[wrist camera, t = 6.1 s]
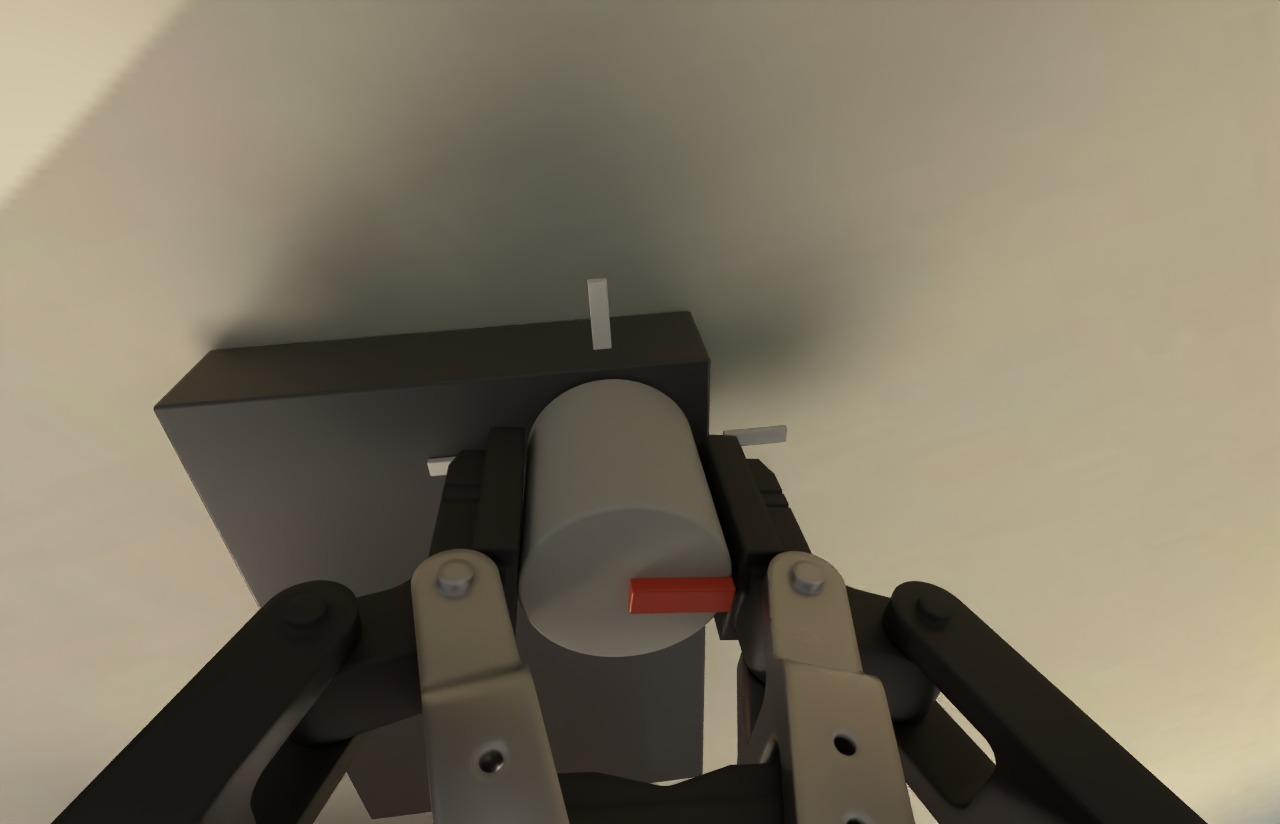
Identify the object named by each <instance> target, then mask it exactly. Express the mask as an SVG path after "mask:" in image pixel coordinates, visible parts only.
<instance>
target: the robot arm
mask: <svg viewBox="0 0 1280 824" xmlns="http://www.w3.org/2000/svg"><path fill="white" fill-rule="evenodd" d="M525 434H526V428H524V427H497V426H490V431H489V438H488V445H487V450H462V451H461V452H460V453H459V454H458V455H457V456H456V457H455V458H454V460H453V461H452V462H451V463H450V464H449V465H448V470H447V475H446V479H445V486H444V488H443V493H442V499H441V502H440V506H439V511H438V515H437V520H436V524H435V529H434V533H433V538H432V543H431V547H430V552H429V555H428V558H427V559H426V560H424V561H423V562H422V563H421V564H420V565H419V566H418V568H417V569H416V570H415V572H414V574H413V576H412V578H410V579H409V580H408V581H406V582H404V583H402V584H401V585H398V586H396V587H394V588H391V589H388V590H385V591H381V592H377V593H373V594H369V595H365V596H361V597H357V598H356V596H355V594H354V593H353V592H352V591H351V590H350V589H349V588H348V587H346V586H345V585H343V584H340V583H338V582H334V581H327V580H315V581H308V582H303V583H300V584H296V585H294V586H291V587H289V588H287V589H285V590H283V591H281V592H279V593H278V594H277V595H275V596H274V597H272V598H271V599H270V600H269V601H268V602H267V603H266V604H265V605H264V606H263V607H262V608H261V609H260V610H259V611H258V612H257V613H256V614H255V615H254V616H253V617H252V618H251V619H250V620H249V621H248V622H247V623H246V624H245V625H244V626H243V627H242V628H241V629H240V630H239V631H238V632H237V633H236V634H235V635H234V636H233V637H232V638H231V640H230V641H229V642H228V643H227V644H226V645H225V646H224V647H223V648H222V649H221V650H220V651H219V652H218V653H217V654H216V655H215V656H214V657H213V658H212V659H211V660H210V661H209V662H208V663H207V664H206V665H205V666H204V667H203V668H202V669H201V670H200V671H199V672H198V673H197V674H196V675H195V676H194V677H193V678H192V679H191V680H190V682H189V683H188V684H187V685H186V686H185V687H184V688H183V689H182V690H181V691H180V692H179V693H178V694H177V695H176V696H175V697H174V698H173V699H172V700H171V701H170V702H169V703H168V704H167V705H166V706H165V707H164V708H163V709H162V710H161V711H160V712H159V713H158V714H157V715H156V716H155V717H154V718H153V719H152V720H151V721H150V722H149V724H148V725H147V726H146V727H145V728H144V729H143V730H142V731H141V732H140V733H139V734H138V735H137V736H136V737H135V738H134V739H133V740H132V741H131V742H130V743H129V744H128V745H127V746H126V747H125V748H124V749H123V750H122V751H121V752H120V753H119V754H118V755H117V756H116V757H115V758H114V759H113V760H112V761H111V762H110V763H109V765H108V766H107V767H106V768H105V769H104V770H103V771H102V772H101V773H100V774H99V775H98V776H97V777H96V778H95V779H94V780H93V781H92V782H91V783H90V784H89V785H88V786H87V787H86V788H85V789H84V790H83V791H82V792H81V793H80V794H79V795H78V796H77V797H76V798H75V799H74V800H73V801H72V802H71V803H70V804H69V805H68V807H67V808H66V809H65V810H64V811H63V812H62V813H61V814H60V815H59V816H58V817H57V818H56V819H55V820H54V821H53V822H52V823H51V824H313V823H314V821H315V819H316V818H317V816H318V815H319V813H320V812H321V810H322V808H323V807H324V805H325V804H326V802H327V801H328V799H329V798H330V796H331V794H332V793H333V791H334V790H335V788H336V787H337V785H338V784H339V782H340V780H341V779H342V777H343V776H344V774H345V773H346V771H347V770H348V768H349V766H350V765H351V763H352V762H353V760H354V759H355V757H356V756H357V754H358V752H359V751H360V749H361V748H362V746H363V745H364V743H365V742H366V740H367V738H368V737H369V735H370V733H371V731H372V730H375V729H377V728H380V727H383V726H386V725H389V724H392V723H395V722H398V721H401V720H404V719H407V718H410V717H413V716H416V715H419V714H422V713H423V723H424V734H425V744H426V755H427V766H428V776H429V787H430V798H431V808H432V819H433V824H915V821H914V816H913V812H912V808H911V803H910V799H909V795H908V790H907V786H906V783H907V784H908V785H909V787H910V788H911V789H912V790H913V792H914V793H915V794H916V795H917V797H918V798H919V799H920V800H921V802H922V803H923V804H924V805H925V807H926V808H927V809H928V810H929V812H930V813H931V814H932V815H933V817H934V818H935V819H936V820H937V822H938V823H939V824H1207V823H1206V822H1205V821H1204V820H1203V819H1202V818H1201V817H1200V816H1199V815H1197V814H1196V813H1195V812H1194V811H1193V810H1192V809H1191V808H1190V807H1189V806H1187V805H1186V804H1185V803H1184V802H1183V801H1182V800H1181V799H1180V798H1179V797H1177V796H1176V795H1175V794H1174V793H1173V792H1172V791H1171V790H1170V789H1169V788H1167V787H1166V786H1165V785H1164V784H1163V783H1162V782H1161V781H1160V780H1159V779H1157V778H1156V777H1155V776H1154V775H1153V774H1152V773H1151V772H1150V771H1149V770H1147V769H1146V768H1145V767H1144V766H1143V765H1142V764H1141V763H1140V762H1139V761H1138V760H1136V759H1135V758H1134V757H1133V756H1132V755H1131V754H1130V753H1129V752H1128V751H1126V750H1125V749H1124V748H1123V747H1122V746H1121V745H1120V744H1119V743H1118V742H1116V741H1115V740H1114V739H1113V738H1112V737H1111V736H1110V735H1109V734H1108V733H1106V732H1105V731H1104V730H1103V729H1102V728H1101V727H1100V726H1099V725H1098V724H1096V723H1095V722H1094V721H1093V720H1092V719H1091V718H1090V717H1089V716H1088V715H1086V714H1085V713H1084V712H1083V711H1082V710H1081V709H1080V708H1079V707H1078V706H1076V705H1075V704H1074V703H1073V702H1072V701H1071V700H1070V699H1069V698H1068V697H1066V696H1065V695H1064V694H1063V693H1062V692H1061V691H1060V690H1059V689H1058V688H1057V687H1055V686H1054V685H1053V684H1052V683H1051V682H1050V681H1049V680H1048V679H1047V678H1045V677H1044V676H1043V675H1042V674H1041V673H1040V672H1039V671H1038V670H1037V669H1035V668H1034V667H1033V666H1032V665H1031V664H1030V663H1029V662H1028V661H1027V660H1025V659H1024V658H1023V657H1022V656H1021V655H1020V654H1019V653H1018V652H1017V651H1015V650H1014V649H1013V648H1012V647H1011V646H1010V645H1009V644H1008V643H1007V642H1005V641H1004V640H1003V639H1002V638H1001V637H1000V636H999V635H998V634H997V633H995V632H994V631H993V630H992V629H991V628H990V627H989V626H988V625H987V624H985V623H984V622H983V621H982V620H981V619H980V618H979V617H978V616H977V615H975V614H974V613H973V612H972V611H971V610H970V609H969V608H968V607H967V606H966V605H964V604H963V603H962V602H961V601H960V600H959V599H958V598H956V597H955V596H954V595H952V594H951V593H949V592H948V591H946V590H944V589H942V588H940V587H938V586H935V585H933V584H929V583H925V582H920V581H910V582H905V583H902V584H900V585H899V586H898V587H896V588H895V590H894V592H893V594H892V596H891V598H888V597H885V596H881V595H877V594H873V593H869V592H865V591H861V590H858V589H854V588H851V587H849V586H846V585H845V583H844V580H843V578H842V576H841V575H840V573H839V572H838V571H837V570H836V569H835V568H834V567H833V566H832V565H831V564H830V563H828V562H827V561H825V560H824V559H822V558H820V557H818V556H816V555H813V554H812V553H811V551H810V549H809V547H808V544H807V542H806V540H805V538H804V536H803V534H802V532H801V530H800V527H799V525H798V523H797V521H796V519H795V517H794V515H793V513H792V510H791V508H789V507H788V505H789V504H788V502H787V500H786V498H785V496H784V494H782V489H781V487H780V485H779V483H778V481H777V479H776V476H775V474H774V473H773V472H772V471H771V470H769V469H768V468H767V467H766V466H765V465H764V464H763V463H762V462H761V461H760V460H759V459H746V457H745V455H744V453H743V450H742V448H741V446H740V443H739V441H738V439H737V437H736V436H730V435H704V434H703V435H701V436H700V437H699V440H698V444H697V451H698V454H699V457H700V460H701V464H702V467H703V470H704V473H705V476H706V480H707V483H708V486H709V489H710V493H711V496H712V499H713V502H714V506H715V509H716V512H717V515H718V519H719V522H720V525H721V528H722V532H723V535H724V538H725V541H726V545H727V548H728V551H729V554H730V559H731V563H732V579H733V582H734V585H735V589H736V591H735V595H734V599H733V603H732V607H731V611H730V612H717V613H716V615H715V616H714V618H715V622H716V626H717V630H718V634H719V637H720V640H739V643H740V647H741V650H742V653H741V656H740V659H739V662H738V666H737V726H738V759H737V765H729V766H726V767H723V768H720V769H717V770H714V771H712V772H709V773H706V774H703V775H700V776H697V777H694V778H692V779H689V780H686V781H683V782H680V783H677V784H674V785H670V786H659V785H654V784H650V783H645V782H640V781H636V780H631V779H627V778H622V777H617V776H613V775H608V774H604V773H599V772H578V773H558V774H557V772H556V768H555V765H554V761H553V757H552V753H551V749H550V745H549V741H548V737H547V733H546V729H545V725H544V721H543V717H542V713H541V709H540V706H539V702H538V698H537V694H536V690H535V686H534V682H533V678H532V675H531V672H530V669H529V667H528V665H527V664H524V665H522V663H521V660H520V657H519V653H518V649H517V645H516V641H515V640H516V622H517V604H518V590H517V582H518V568H519V554H520V540H521V527H522V513H523V492H524V463H525ZM940 692H942V693H943V694H944V695H945V696H946V697H947V699H948V700H949V701H950V702H951V703H952V704H953V705H954V706H955V707H956V708H957V709H958V710H959V711H960V712H961V713H962V714H963V715H964V717H965V718H966V719H967V720H968V721H969V722H970V723H971V724H972V725H973V726H974V727H975V728H976V729H977V730H978V731H979V732H980V733H981V734H982V736H983V737H984V738H985V739H986V740H987V742H988V743H989V744H990V746H991V748H992V750H993V752H994V755H995V759H996V765H995V764H994V763H993V762H992V761H991V760H990V759H989V757H988V756H987V755H986V754H985V753H984V752H983V751H982V750H981V749H980V748H979V747H978V746H977V745H976V743H975V742H974V741H973V740H972V739H971V738H970V737H969V736H968V735H967V734H966V733H965V732H964V730H963V729H962V728H961V727H960V726H959V725H958V724H957V723H956V722H955V721H954V720H953V719H952V718H951V716H950V715H949V714H948V713H947V712H946V711H945V710H944V709H943V708H942V707H941V706H940V705H939V704H938V702H937V701H936V699H937V697H938V695H939V693H940Z"/></svg>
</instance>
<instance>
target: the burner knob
mask: <svg viewBox="0 0 1280 824" xmlns="http://www.w3.org/2000/svg"><path fill="white" fill-rule="evenodd" d="M517 590H518V598H519V601H520V605H521V607H522V609H523V611H524V613H525V615H526V617H527V619H528V620H529V621H530V623H531V624H532V625H533V626H534V627H535V628H536V629H537V630H538V631H539V632H540V633H541V634H542V635H544V636H545V637H546V638H548V639H549V640H551V641H552V642H554V643H556V644H558V645H560V646H562V647H565V648H567V649H569V650H573V651H576V652H579V653H583V654H589V655H594V656H604V657H624V656H634V655H641V654H646V653H650V652H654V651H658V650H661V649H664V648H667V647H669V646H672V645H674V644H676V643H678V642H681V641H682V640H684V639H686V638H688V637H690V636H691V635H693V634H694V633H696V632H697V631H698V630H700V629H701V628H702V627H703V626H705V625H706V624H707V623H708V622H709V621H710V620H711V619H712V618H713V617H714V616H715V615H716V613H717V612H730V611H731V607H732V603H733V599H734V595H735V591H736V589H735V585H734V582H733V579H732V563H731V559H730V554H729V551H728V548H727V545H726V541H725V538H724V535H723V532H722V528H721V525H720V522H719V519H718V515H717V512H716V509H715V506H714V502H713V499H712V496H711V493H710V489H709V486H708V483H707V480H706V476H705V473H704V470H703V467H702V464H701V460H700V457H699V454H698V451H697V447H696V444H695V441H694V438H693V434H692V431H691V428H690V425H689V423H688V420H687V418H686V416H685V415H684V413H683V412H682V410H681V409H680V408H679V407H678V405H677V404H676V403H675V402H674V401H673V400H671V399H670V398H669V397H668V396H666V395H665V394H663V393H662V392H660V391H659V390H657V389H655V388H653V387H651V386H648V385H645V384H642V383H639V382H635V381H630V380H621V379H605V380H598V381H592V382H588V383H585V384H582V385H579V386H576V387H574V388H572V389H570V390H568V391H566V392H564V393H562V394H561V395H560V396H558V397H557V398H555V399H554V400H553V401H552V402H551V403H550V404H549V405H547V406H546V407H545V408H544V410H543V411H542V412H541V413H540V414H539V416H538V417H537V419H536V421H535V422H534V424H533V427H532V429H531V431H530V435H529V439H528V445H527V458H526V472H525V485H524V499H523V513H522V527H521V540H520V554H519V568H518V582H517Z"/></svg>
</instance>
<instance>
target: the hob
mask: <svg viewBox="0 0 1280 824" xmlns="http://www.w3.org/2000/svg"><path fill="white" fill-rule="evenodd" d="M587 285H588V296H589V307H590V318H591V319H588V320H576V321H563V322H551V323H539V324H527V325H515V326H503V327H491V328H479V329H467V330H454V331H442V332H430V333H418V334H406V335H394V336H382V337H370V338H357V339H345V340H333V341H321V342H309V343H297V344H285V345H273V346H261V347H248V348H236V349H224V350H212V351H210V352H208V353H207V354H206V355H205V356H204V357H203V358H202V359H201V360H200V361H199V362H198V363H197V364H196V365H195V366H194V367H193V368H192V369H191V370H190V371H189V372H188V373H187V374H186V375H185V376H184V377H183V378H182V379H181V380H180V381H179V382H178V383H177V384H176V385H175V386H174V387H173V388H172V389H171V390H170V391H169V392H168V393H167V394H166V395H165V396H164V397H163V398H162V399H161V400H160V401H159V402H158V403H157V404H156V405H155V406H154V411H155V413H156V415H157V417H158V419H159V421H160V423H161V425H162V426H163V428H164V430H165V432H166V434H167V436H168V438H169V440H170V441H171V443H172V445H173V447H174V449H175V451H176V453H177V455H178V457H179V458H180V460H181V462H182V464H183V466H184V468H185V470H186V472H187V473H188V475H189V477H190V479H191V481H192V483H193V485H194V487H195V488H196V490H197V492H198V494H199V496H200V498H201V500H202V502H203V503H204V505H205V507H206V509H207V511H208V513H209V515H210V517H211V518H212V520H213V522H214V524H215V526H216V528H217V530H218V532H219V533H220V535H221V537H222V539H223V541H224V543H225V545H226V547H227V548H228V550H229V552H230V554H231V556H232V558H233V560H234V562H235V563H236V565H237V567H238V569H239V571H240V573H241V575H242V577H243V578H244V580H245V582H246V584H247V586H248V588H249V590H250V592H251V593H252V595H253V597H254V599H255V601H256V603H257V605H258V607H259V608H260V609H261V608H262V607H263V606H264V605H265V604H266V603H267V602H268V601H269V600H270V599H271V598H272V597H274V596H275V595H277V594H278V593H279V592H281V591H283V590H285V589H287V588H289V587H291V586H294V585H296V584H300V583H303V582H308V581H315V580H327V581H334V582H338V583H340V584H343V585H345V586H346V587H348V588H349V589H350V590H351V591H352V592H353V593H354V594H355V596H356V598H357V597H361V596H365V595H369V594H373V593H377V592H381V591H385V590H388V589H391V588H394V587H396V586H398V585H401V584H402V583H404V582H406V581H408V580H409V579H410V578H412V576H413V574H414V572H415V570H416V569H417V568H418V566H419V565H420V564H421V563H422V562H423V561H424V560H426V559H427V558H428V555H429V552H430V547H431V543H432V538H433V533H434V529H435V524H436V520H437V515H438V511H439V506H440V502H441V499H442V493H443V488H444V486H445V479H446V475H447V470H448V465H449V464H450V463H451V462H452V461H453V460H454V458H455V457H456V456H457V455H458V454H459V453H460V452H461V451H462V450H487V445H488V438H489V431H490V426H497V427H524V428H526V434H525V463H524V485H525V472H526V458H527V445H528V439H529V435H530V431H531V429H532V427H533V424H534V422H535V421H536V419H537V417H538V416H539V414H540V413H541V412H542V411H543V410H544V408H545V407H546V406H547V405H549V404H550V403H551V402H552V401H553V400H554V399H555V398H557V397H558V396H560V395H561V394H562V393H564V392H566V391H568V390H570V389H572V388H574V387H576V386H579V385H582V384H585V383H588V382H592V381H598V380H605V379H621V380H630V381H635V382H639V383H642V384H645V385H648V386H651V387H653V388H655V389H657V390H659V391H660V392H662V393H663V394H665V395H666V396H668V397H669V398H670V399H671V400H673V401H674V402H675V403H676V404H677V405H678V407H679V408H680V409H681V410H682V412H683V413H684V415H685V416H686V418H687V420H688V423H689V425H690V428H691V431H692V434H693V438H694V441H695V444H696V447H697V444H698V440H699V437H700V436H701V435H703V434H704V435H709V407H710V358H709V356H708V353H707V351H706V349H705V346H704V344H703V341H702V339H701V337H700V334H699V332H698V330H697V327H696V325H695V323H694V320H693V318H692V315H691V313H690V312H689V311H685V312H672V313H660V314H648V315H636V316H624V317H612V318H609V305H608V291H607V280H606V278H602V279H589V280H587ZM723 435H730V436H736V437H737V439H738V441H739V443H740V446H747V445H757V444H767V443H778V442H786V436H787V428H786V426H785V425H781V426H770V427H760V428H749V429H739V430H728V431H723ZM523 499H524V492H523ZM515 641H516V645H517V649H518V653H519V657H520V660H521V663H522V665H524V664H527V665H528V667H529V669H530V672H531V675H532V678H533V682H534V686H535V690H536V694H537V698H538V702H539V706H540V709H541V713H542V717H543V721H544V725H545V729H546V733H547V737H548V741H549V745H550V749H551V753H552V757H553V761H554V765H555V768H556V772H557V774H558V773H578V772H599V773H604V774H608V775H613V776H617V777H622V778H627V779H631V780H636V781H640V782H645V783H654V782H662V781H669V780H677V779H685V778H692V777H697V776H700V775H702V774H703V722H704V669H705V626H703V627H702V628H701V629H700V630H698V631H697V632H696V633H694V634H693V635H691V636H690V637H688V638H686V639H684V640H682V641H681V642H678V643H676V644H674V645H672V646H669V647H667V648H664V649H661V650H658V651H654V652H650V653H646V654H641V655H634V656H624V657H604V656H594V655H589V654H583V653H579V652H576V651H573V650H569V649H567V648H565V647H562V646H560V645H558V644H556V643H554V642H552V641H551V640H549V639H548V638H546V637H545V636H544V635H542V634H541V633H540V632H539V631H538V630H537V629H536V628H535V627H534V626H533V625H532V624H531V623H530V621H529V620H528V619H527V617H526V615H525V613H524V611H523V609H522V607H521V605H520V601H519V598H518V604H517V622H516V640H515ZM346 772H347V774H348V775H349V777H350V779H351V781H352V783H353V785H354V787H355V789H356V790H357V792H358V794H359V796H360V798H361V800H362V802H363V804H364V806H365V807H366V809H367V811H368V813H369V815H370V817H371V819H379V818H387V817H394V816H402V815H410V814H417V813H425V812H432V808H431V798H430V787H429V776H428V766H427V755H426V744H425V734H424V723H423V713H422V714H419V715H416V716H413V717H410V718H407V719H404V720H401V721H398V722H395V723H392V724H389V725H386V726H383V727H380V728H377V729H375V730H372V731H371V733H370V735H369V737H368V738H367V740H366V742H365V743H364V745H363V746H362V748H361V749H360V751H359V752H358V754H357V756H356V757H355V759H354V760H353V762H352V763H351V765H350V766H349V768H348V770H347V771H346Z"/></svg>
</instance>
